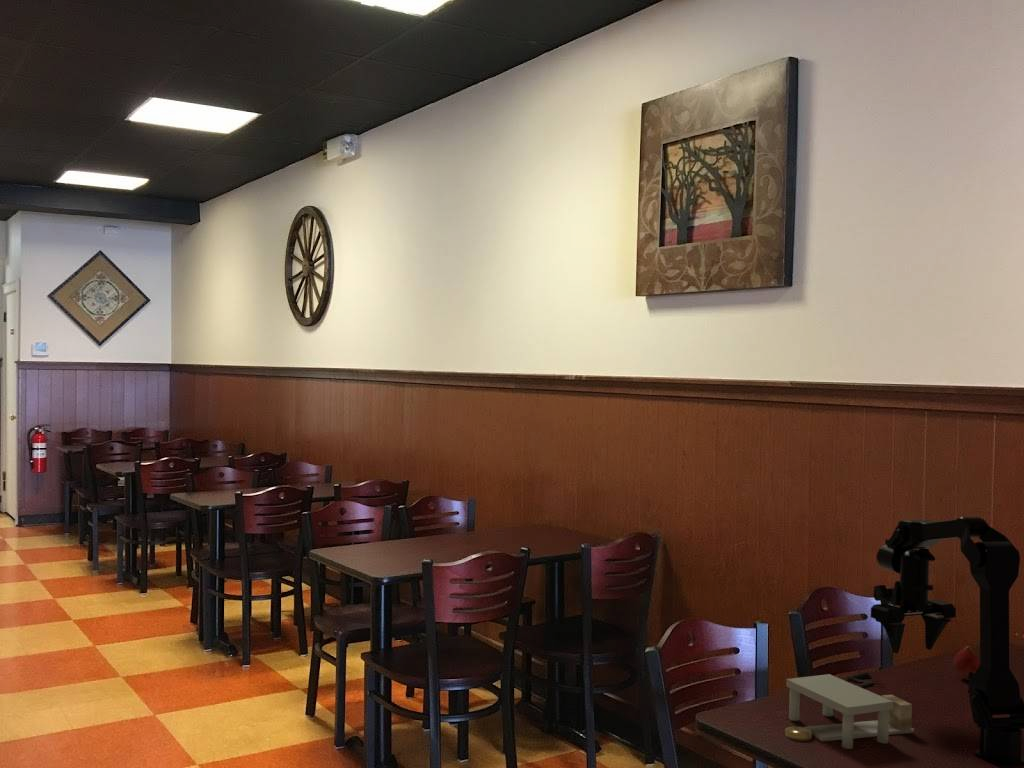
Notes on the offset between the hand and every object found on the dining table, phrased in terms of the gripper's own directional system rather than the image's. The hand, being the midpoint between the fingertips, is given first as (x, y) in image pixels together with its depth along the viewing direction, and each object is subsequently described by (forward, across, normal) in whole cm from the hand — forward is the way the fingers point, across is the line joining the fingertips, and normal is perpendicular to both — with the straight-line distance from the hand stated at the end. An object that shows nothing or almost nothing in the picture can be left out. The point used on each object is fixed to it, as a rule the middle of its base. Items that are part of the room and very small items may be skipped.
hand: (912, 651), depth 208 cm
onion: (+12, -28, -11) cm, 32 cm away
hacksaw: (+13, +4, -14) cm, 19 cm away
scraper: (+12, +21, +8) cm, 26 cm away
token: (+12, +34, +6) cm, 37 cm away
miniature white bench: (+12, +25, +6) cm, 28 cm away
